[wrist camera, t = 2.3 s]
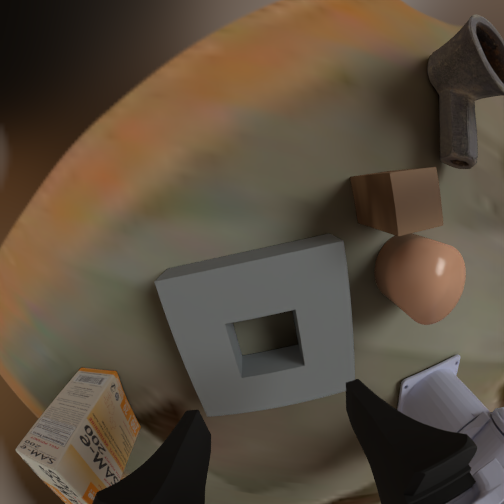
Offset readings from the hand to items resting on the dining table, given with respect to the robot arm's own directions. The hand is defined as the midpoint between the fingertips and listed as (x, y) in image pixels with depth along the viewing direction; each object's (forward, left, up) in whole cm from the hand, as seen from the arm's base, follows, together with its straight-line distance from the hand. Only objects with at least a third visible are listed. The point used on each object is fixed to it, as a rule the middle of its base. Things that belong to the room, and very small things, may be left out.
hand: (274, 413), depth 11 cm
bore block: (0, 0, -9) cm, 9 cm away
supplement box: (-6, +17, -10) cm, 20 cm away
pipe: (+16, -20, -10) cm, 27 cm away
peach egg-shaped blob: (+2, -12, -10) cm, 15 cm away
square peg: (+8, -10, -9) cm, 16 cm away
